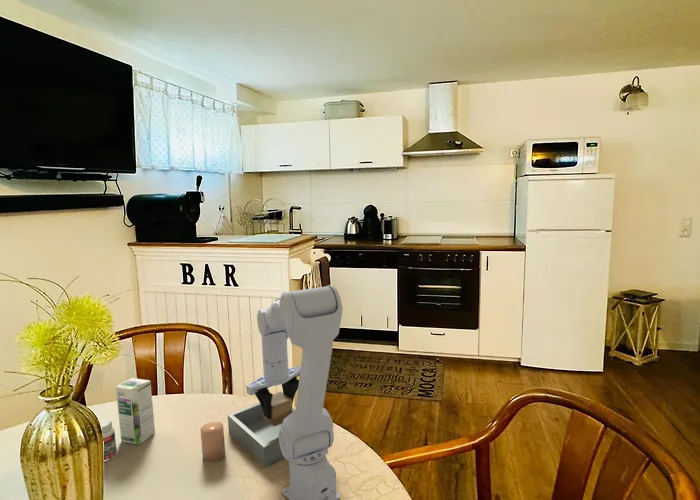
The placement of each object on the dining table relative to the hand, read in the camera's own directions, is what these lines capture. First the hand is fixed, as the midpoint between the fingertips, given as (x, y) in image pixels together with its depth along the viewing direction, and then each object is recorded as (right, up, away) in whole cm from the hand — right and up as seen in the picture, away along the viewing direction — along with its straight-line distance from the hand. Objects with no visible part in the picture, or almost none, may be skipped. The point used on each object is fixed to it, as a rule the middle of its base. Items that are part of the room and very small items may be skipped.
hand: (278, 412), depth 101 cm
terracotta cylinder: (-15, -9, -2) cm, 17 cm away
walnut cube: (0, -1, 0) cm, 2 cm away
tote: (-2, -8, +4) cm, 9 cm away
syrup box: (-36, -9, +6) cm, 37 cm away
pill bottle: (-40, -10, -2) cm, 41 cm away
